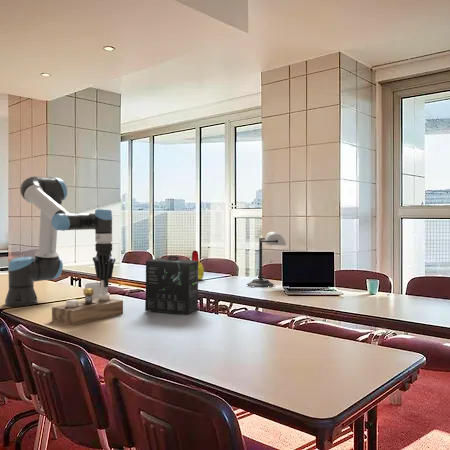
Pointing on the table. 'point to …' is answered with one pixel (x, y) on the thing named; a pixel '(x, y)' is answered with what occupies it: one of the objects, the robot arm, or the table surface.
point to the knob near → (71, 303)
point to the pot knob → (88, 295)
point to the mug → (96, 289)
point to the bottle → (200, 266)
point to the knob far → (104, 297)
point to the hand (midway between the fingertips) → (104, 293)
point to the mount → (87, 311)
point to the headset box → (171, 286)
